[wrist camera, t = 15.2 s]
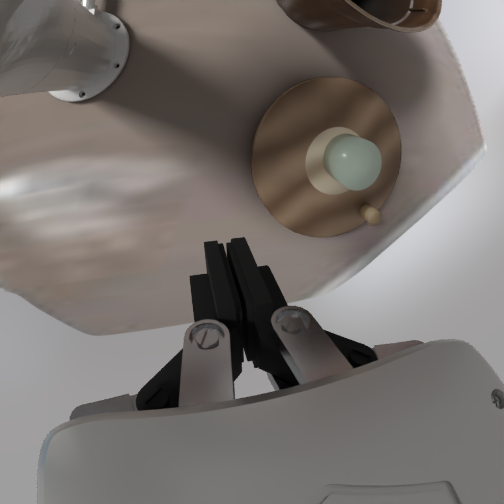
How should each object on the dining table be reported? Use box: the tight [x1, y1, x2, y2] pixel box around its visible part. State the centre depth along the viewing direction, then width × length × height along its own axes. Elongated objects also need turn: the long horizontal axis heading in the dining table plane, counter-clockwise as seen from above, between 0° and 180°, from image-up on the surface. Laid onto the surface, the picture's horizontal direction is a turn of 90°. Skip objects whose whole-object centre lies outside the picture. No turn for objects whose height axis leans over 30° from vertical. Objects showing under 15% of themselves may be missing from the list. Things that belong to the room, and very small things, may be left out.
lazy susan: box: [251, 77, 401, 237], centre depth 35 cm, size 24×24×4 cm
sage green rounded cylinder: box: [323, 134, 382, 191], centre depth 34 cm, size 7×7×4 cm
